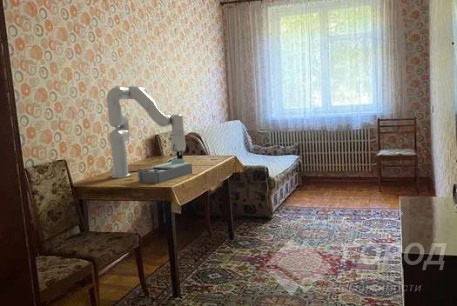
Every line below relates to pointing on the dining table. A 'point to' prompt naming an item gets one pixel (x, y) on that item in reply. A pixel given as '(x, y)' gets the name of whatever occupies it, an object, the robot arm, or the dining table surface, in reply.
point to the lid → (172, 164)
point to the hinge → (170, 159)
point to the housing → (163, 174)
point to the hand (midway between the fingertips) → (180, 161)
